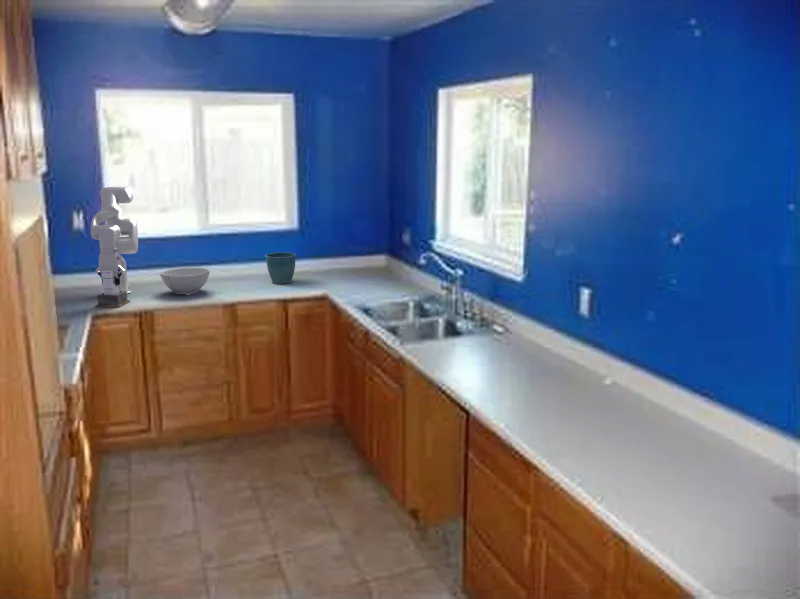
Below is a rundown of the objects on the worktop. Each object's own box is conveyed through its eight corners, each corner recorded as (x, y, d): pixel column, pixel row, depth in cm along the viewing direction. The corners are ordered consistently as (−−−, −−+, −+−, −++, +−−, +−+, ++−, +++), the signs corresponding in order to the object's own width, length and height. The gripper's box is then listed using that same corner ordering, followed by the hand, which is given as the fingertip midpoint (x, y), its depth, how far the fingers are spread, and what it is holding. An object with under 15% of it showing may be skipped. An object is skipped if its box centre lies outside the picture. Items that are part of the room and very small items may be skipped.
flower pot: (272, 286, 422) (271, 258, 418) (262, 281, 437) (261, 253, 433) (301, 283, 430) (300, 255, 426) (290, 278, 446) (289, 251, 442)
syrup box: (114, 298, 373) (111, 271, 370) (104, 298, 374) (101, 270, 371) (120, 296, 378) (118, 269, 375) (110, 295, 380) (108, 268, 376)
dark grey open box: (107, 301, 384) (105, 290, 382) (130, 301, 383) (129, 290, 382) (95, 307, 372) (94, 295, 370) (119, 307, 371) (118, 296, 369)
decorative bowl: (154, 297, 393) (152, 276, 390) (170, 287, 419) (169, 267, 416) (202, 298, 392) (201, 276, 389) (216, 287, 418) (215, 267, 416)
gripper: (127, 250, 374) (130, 283, 378) (95, 249, 375) (98, 283, 379) (121, 252, 367) (124, 286, 371) (88, 251, 368) (91, 286, 372)
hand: (111, 284), depth 375 cm, fingers closed on syrup box, 6 cm apart
